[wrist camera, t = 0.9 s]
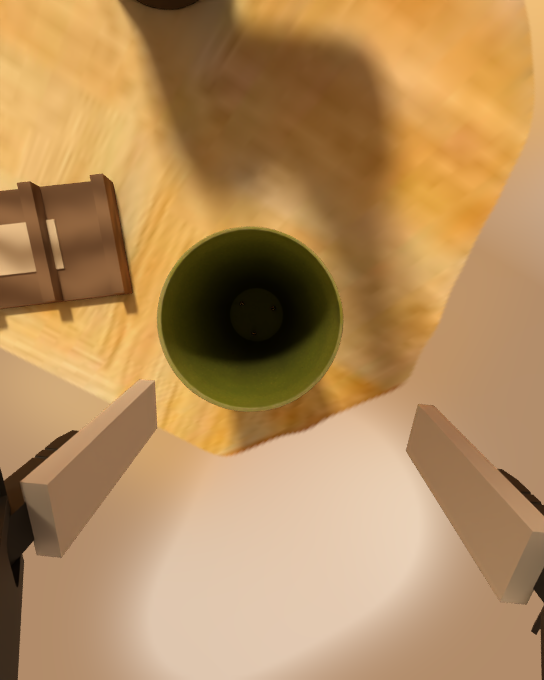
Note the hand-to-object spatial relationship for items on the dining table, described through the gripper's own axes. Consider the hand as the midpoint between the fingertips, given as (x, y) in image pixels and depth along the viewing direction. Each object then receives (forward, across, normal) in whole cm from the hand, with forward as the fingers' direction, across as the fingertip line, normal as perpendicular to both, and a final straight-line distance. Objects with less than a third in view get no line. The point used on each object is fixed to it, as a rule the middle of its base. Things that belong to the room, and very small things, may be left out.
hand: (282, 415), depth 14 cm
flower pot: (+25, -4, -1) cm, 26 cm away
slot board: (+24, -31, +6) cm, 40 cm away
